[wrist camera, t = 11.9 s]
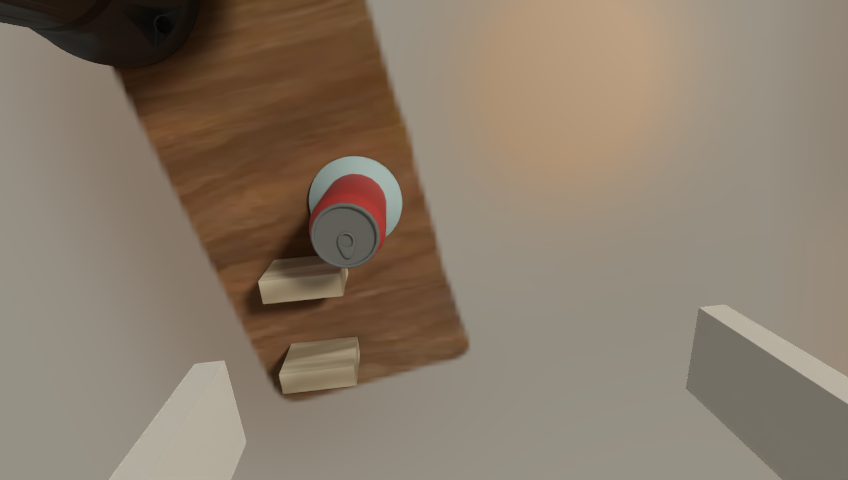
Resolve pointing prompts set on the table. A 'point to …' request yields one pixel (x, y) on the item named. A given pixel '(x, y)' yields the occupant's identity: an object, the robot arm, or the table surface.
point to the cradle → (316, 359)
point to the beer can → (349, 221)
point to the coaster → (367, 169)
